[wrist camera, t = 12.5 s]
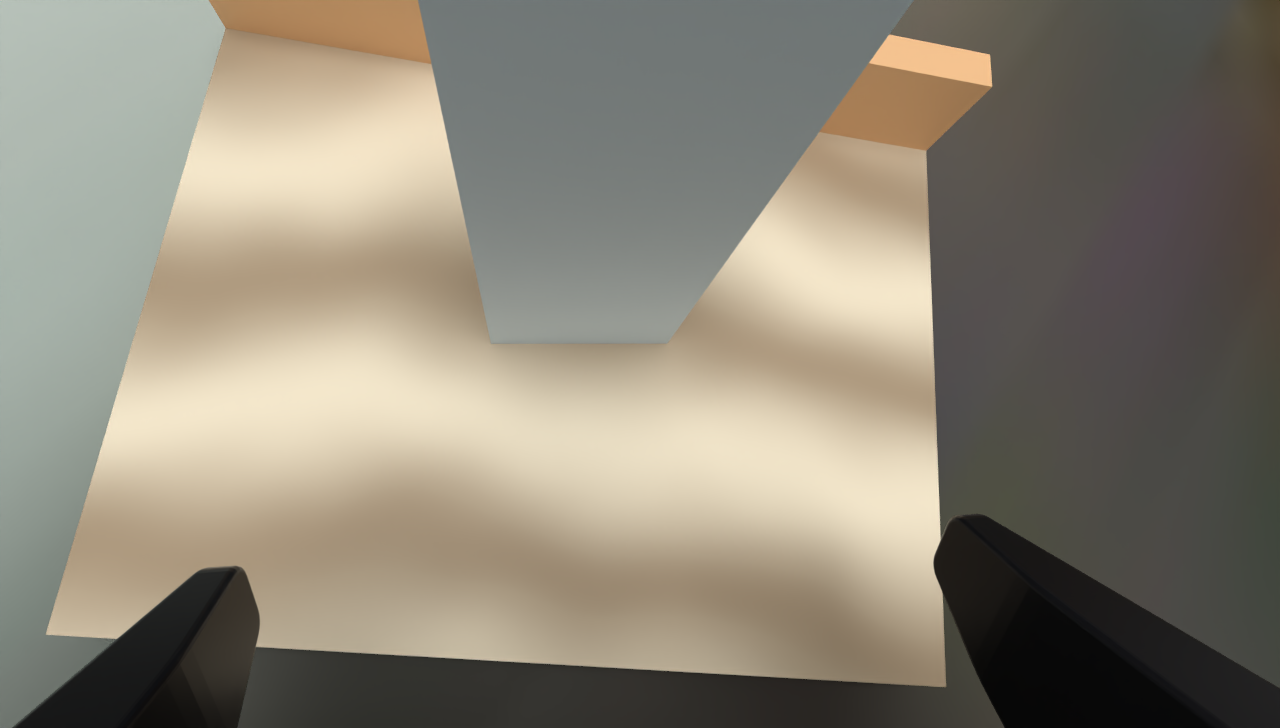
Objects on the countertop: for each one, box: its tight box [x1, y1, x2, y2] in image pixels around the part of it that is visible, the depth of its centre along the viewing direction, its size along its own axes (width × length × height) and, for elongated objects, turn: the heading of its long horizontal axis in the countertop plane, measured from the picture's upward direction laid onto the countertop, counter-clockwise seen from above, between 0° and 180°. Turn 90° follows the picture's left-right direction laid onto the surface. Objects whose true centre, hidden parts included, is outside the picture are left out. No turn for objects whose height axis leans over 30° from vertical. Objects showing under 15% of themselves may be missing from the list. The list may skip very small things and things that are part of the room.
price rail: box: [209, 0, 992, 151], centre depth 17 cm, size 1×20×3 cm, turn 85°
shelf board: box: [46, 28, 946, 687], centre depth 18 cm, size 16×20×2 cm
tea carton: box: [418, 0, 914, 344], centre depth 11 cm, size 4×4×13 cm
